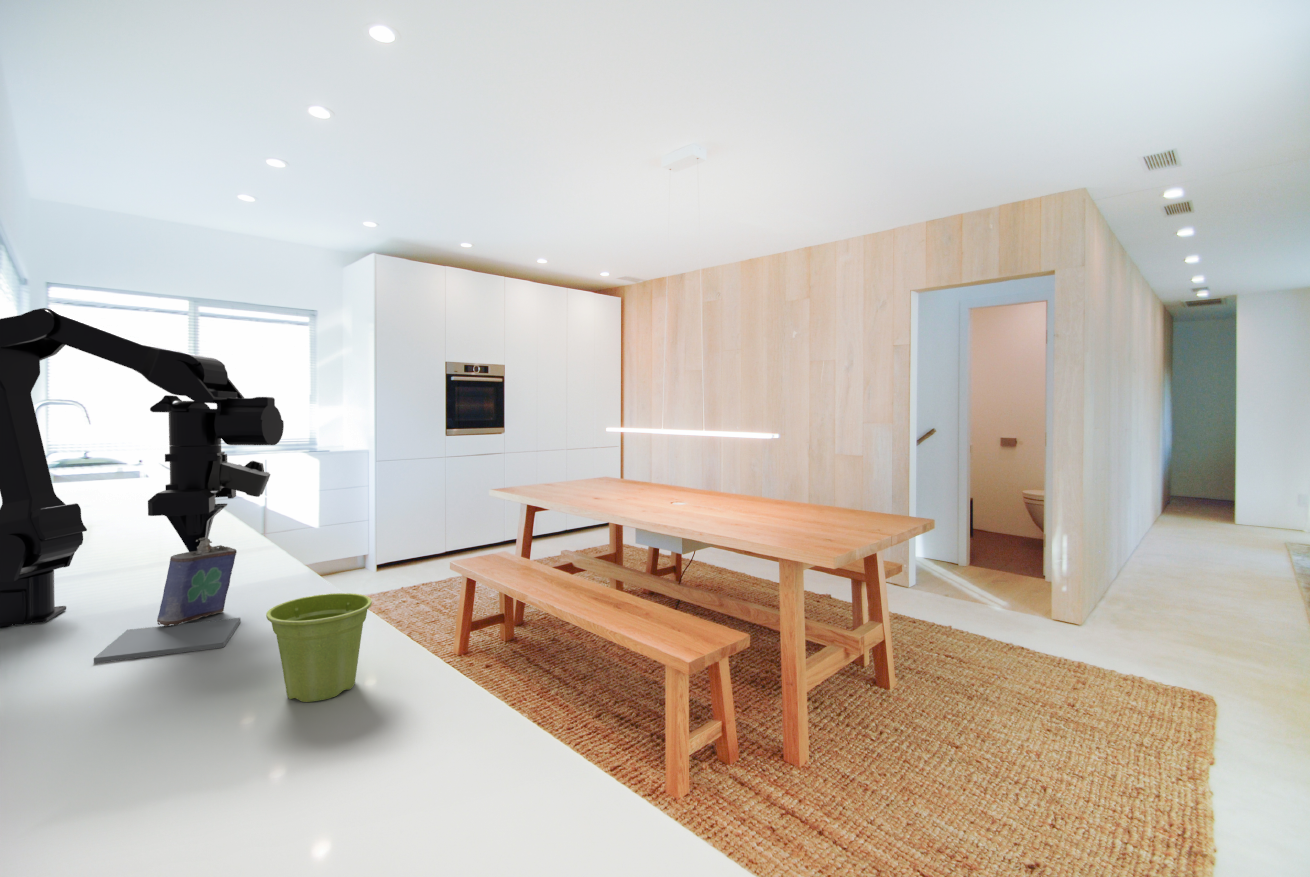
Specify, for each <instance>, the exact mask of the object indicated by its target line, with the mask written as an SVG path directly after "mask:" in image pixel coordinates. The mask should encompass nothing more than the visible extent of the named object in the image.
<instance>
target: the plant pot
mask: <svg viewBox="0 0 1310 877" xmlns="http://www.w3.org/2000/svg"><path fill="white" fill-rule="evenodd" d="M372 602H373V600H372V598H371V597H369V596H367V595H364V594H360V593H353V592H352V593H348V592H347V593H343V592H341V593H326V594H316V595H311V596H304V597H299V598H295V599H291V600H288V601H285V602H282V603H278V604H277V605H275V606H273V607H271V608H269V609H267V610H268V611H267V612H266V613H265V616H266V619H267V620H268V621H269V622H270V623H271V627H272V631H273V634H275V636H276V640H277V646H278V651H279V657H280V661H281V662H280V663H281V667H282V672H283V680H284V684H285V685H284V686H285V691H286V696H287V697H288V699H289V700H293V699H297V700H298V701H300V702H301V703H303V702H304V703H313V702H318V701H323V700H330V699H332V698H334V697H337V696H339V695H340V693H342V692H343V691H345V690H351V689H352V688H353V687H354V686H355V683H356V679H357V672H358V671H357V670H358V663H359V655H360V649H361V641H362V634H363V628H364V626H363V625H364V622H365V621H366V618H367V613H368V610H369V608H371V606H372Z"/></svg>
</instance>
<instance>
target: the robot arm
mask: <svg viewBox="0 0 1310 877" xmlns="http://www.w3.org/2000/svg"><path fill="white" fill-rule="evenodd" d="M66 346H67V347H70V348H73V349H76V350H79V351H81V352H83V353H87V354H90V355H92V356H95V357H97V358H101V359H104V360H106V361H110V362H112V363H115V364H117V365H120V366H123V367H126V368H128V369H131V370H133V371H135V372H136V373H139V374H140V375H142V376H143V378H145V379H146V380H147V382H149V383H151V384H153V385H155V386H157V387H159V388H160V389H162V390H164V391H165V392H167V393H169V394H171V395H168V394H166V395H164V396H163V397H162V398H161V400H160V401H158V402H156V403H155V404H153V405H152V406H151V407H150V408H149V410H150V412H151V413H168V440H169V441H168V443H169V444H168V445H169V450H168V451H169V453H165V454H164V462H165V463H167V462H168V463H169V483H168V484H165V489H164V490H163V491H159V492H156V493H155V494H154V495H153V496H152V497H151V498H150V499H148V500H147V516H148V517H158V516H159V517H160V516H164V517H166V519H167V520H168V521H169V523H170V524H171V526H172V527H173V528H174V530H175V532H176V534H178V536H179V538H180V539H181V541H182V543H183V544H184V546H185V547H186V550H187V552H191V551H197V550H198V549H197V547H198V546H199V544H200V540H198V539H200V538H207V539H209V536H210V533H211V528H212V524H213V521H214V519H215V516H216V515H218V514H219V513H220V512H221V511H222V510H223V509H224V508H226V507H227V506H228V503H216V502H217V501H216V498H226V497H227V499H229V500H230V499H234V498H236V497H237V492H242V493H245V494H246V495H247V496H251V497H256V498H257V497H258V498H259V497H260V496H261V495H263V494H264V491H265V489H266V486H267V483H268V482H269V480H270V477H271V473H270V472H268V471H265V468H264V464H263V462H259V461H256V460H250V461H249V462H248V463H246V464H245V465H242V464H236V463H233V462H228V454H227V453H226V452H225V451H222V441H223V442H224V443H225V444H226V445H228V446H276V445H277V444H279V442H280V441H281V439H282V437H283V434H284V433H283V432H284V424H285V423H284V420H283V419H282V415H281V413H280V410H279V409H278V408H277V406H276V405H275V404H276V402H275V400H276V399H275V398H274V397H272V396H271V397H270V396H256V397H250V398H249V397H246V398H245V397H244V395H242V393H241V392H240V390H238V388H237V387H236V386H235V385H234V384H233V382H232V381H231V380H230V378H229V377H228V376H229V375H228V371H227V369H226V365H225V364H224V363H223V362H221V361H220V360H218V359H216V358H213V357H209V356H204V355H199V354H193V353H187V352H182V351H179V350H178V351H177V350H174V349H173V350H172V349H168V348H162V347H159V346H156V345H154V344H151V343H147V342H145V341H143V340H139V339H137V338H135V337H131V336H129V335H126V334H123V333H120V332H119V331H115V330H112V329H110V328H107V327H104V326H102V325H99V324H97V323H93V322H91V321H88V320H85V319H82V318H80V317H79V316H78V315H76V314H74V313H70V312H66V311H61V310H56V309H51V308H46V307H43V308H42V307H41V308H37V309H32V310H30V311H28V312H25V313H22V314H19V315H18V314H17V315H13V316H8V317H3V318H2V317H1V318H0V496H1V497H0V498H1V506H0V627H10V626H11V627H12V626H21V625H31V624H39V623H40V624H41V623H46V622H48V621H49V620H52V618H54V617H56V616H57V615H60V614H61V613H63V612H64V611H66V610H67V606H66V605H60V606H59V605H58V606H55V570H57V569H61V568H62V569H63V568H67V567H70V565H71V563H72V561H73V558H74V555H75V552H77V550H78V549H79V548H80V547H81V546H82V544H83V542H84V532H87V531H88V529H87V527H86V526H85V525H84V522H83V520H82V508H81V506H80V504H78V503H77V502H76V503H75V502H74V503H69V504H66V503H65V502H64V501H63V500H62V499H61V498H59V497H58V496H57V494H56V492H55V489H54V486H53V481H52V476H51V474H50V473H51V472H50V468H49V464H48V460H47V455H46V452H45V449H44V445H43V440H42V435H41V431H40V427H39V423H38V420H37V419H38V418H37V415H36V410H35V406H34V402H33V398H32V391H33V388H34V387H35V385H36V383H37V381H38V379H39V377H40V374H41V363H40V362H41V361H44V360H45V359H48V358H51V357H53V356H55V355H57V354H58V353H59V352H60V351H61V350H62V349H63V348H64V347H66ZM178 396H183V397H187V398H189V399H190V400H182V399H180V398H179V397H178ZM208 404H216V408H211V407H210V406H209V405H208ZM196 540H198V541H196ZM204 540H206V539H204ZM201 541H202V540H201Z"/></svg>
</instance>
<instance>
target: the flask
mask: <svg viewBox="0 0 1310 877" xmlns="http://www.w3.org/2000/svg"><path fill="white" fill-rule="evenodd" d="M204 539H206V540H204ZM198 540H200V544H199V546H198V547H197V549H198V550H197V551H191V552H189V551H187V552H183V553H182V552H181V553H177V554H173V555H172V556H170V559H169V566H168V569H167V575H166V580H165V584H164V589H163V593H162V599H161V601H160V602H161V603H160V606H159V612H158V615H157V625H159V626H169V625H177V624H183V623H187V622H190V621H196V620H199V619H200V618H202V617H205V618H206V617H208V616H211V615H216V614H219V613H220V614H221V613H223V612H224V611H225V610H224V609H225V604H226V599H227V595H228V590H229V587H230V583H231V576H232V574H233V573H232V572H233V569H234V564H235V562H236V561H235V560H236V557H237V556H236V555H237V553H238V552H237V549H235V548H233V547H230V546H224V545H221V544H220V545H214V546H212V545H211V544H212V543H213V541H212V540H211V539H210V538H208V539H207V538H200V539H198ZM198 540H196V541H198ZM201 540H202V541H201Z"/></svg>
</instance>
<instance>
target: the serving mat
mask: <svg viewBox="0 0 1310 877" xmlns="http://www.w3.org/2000/svg"><path fill="white" fill-rule="evenodd" d="M240 624H241V617H234V618H226V619H215V620H208V621H207V620H206V621H197V622H196V621H195V622H190V623H189V622H188V623H187V622H185V623H182V624H177V625H173V624H172V625H169V626H164V625H159V626H150V627H141V628H139V627H138V628H132V629H126V630H125V631H124V632H123V633H122V634H120V635H119V636H118V637H117V638H116V639H114V640H113V641H112V642H111V643H110V644H108V645H107V646H106V647H105V648H104V649H102V651H100V652H99V653H98V654H97V655H96V656H94V658H93V664H98V663H99V664H100V663H108V662H109V663H110V662H117V661H125V660H132V659H140V658H148V657H149V658H150V657H156V656H164V655H173V654H181V653H188V652H189V653H190V652H197V651H204V650H205V651H206V650H213V649H221V648H225V646H226V645H227V644H228V642H229V640H230V639H231V638H232V635H233V634H234V633H235V631H236V630H237V628H238V626H239V625H240Z"/></svg>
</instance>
